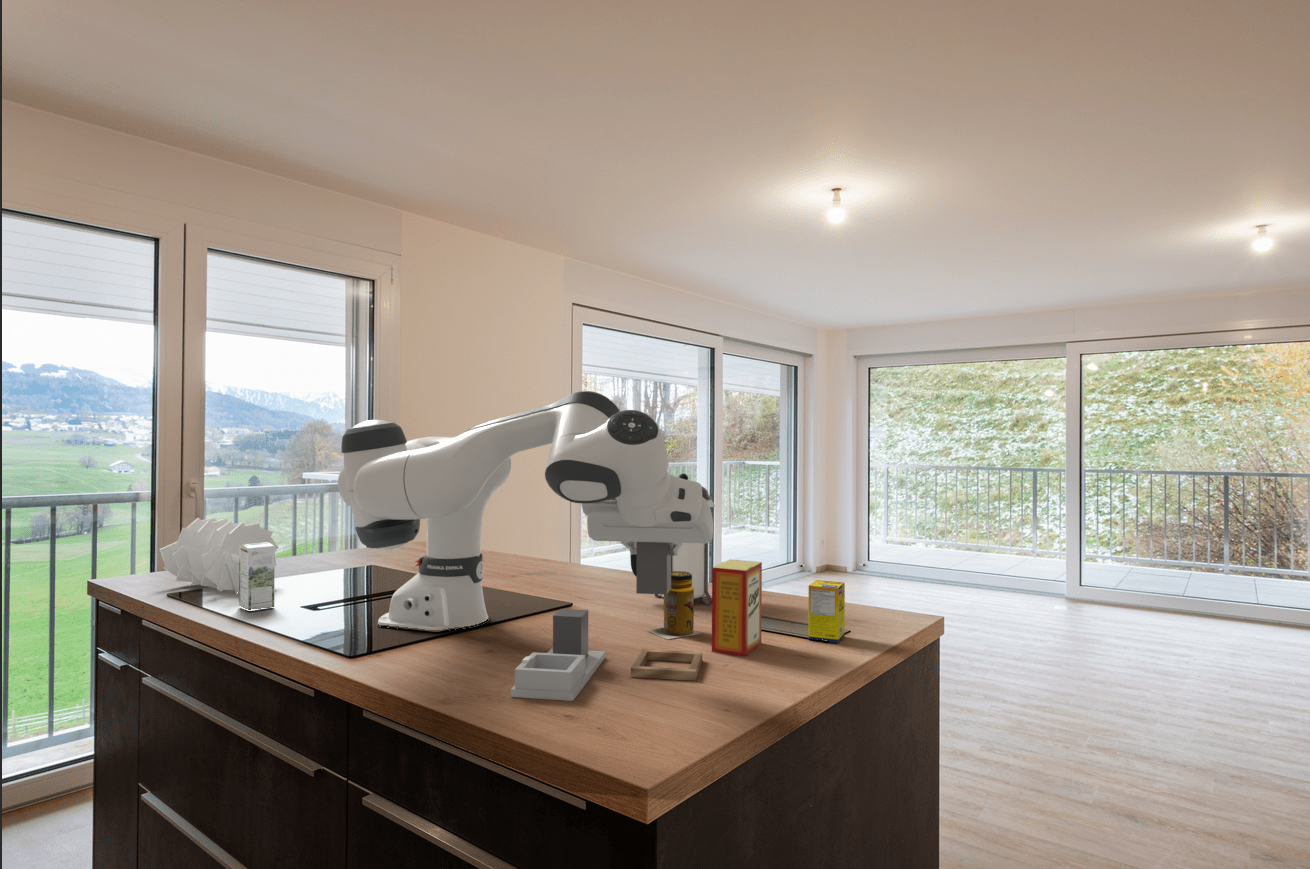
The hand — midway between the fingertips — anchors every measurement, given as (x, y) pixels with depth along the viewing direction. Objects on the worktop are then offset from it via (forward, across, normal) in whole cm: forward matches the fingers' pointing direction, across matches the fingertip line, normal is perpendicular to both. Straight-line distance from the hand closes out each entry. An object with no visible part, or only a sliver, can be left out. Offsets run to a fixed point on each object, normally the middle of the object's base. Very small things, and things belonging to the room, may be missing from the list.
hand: (654, 551), depth 134 cm
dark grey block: (+4, 0, -5) cm, 6 cm away
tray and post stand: (+14, -16, -16) cm, 26 cm away
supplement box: (+35, +30, +6) cm, 47 cm away
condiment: (+35, 0, +5) cm, 35 cm away
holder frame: (+19, +2, -11) cm, 22 cm away
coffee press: (+53, -3, +25) cm, 59 cm away
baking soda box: (+29, +13, 0) cm, 32 cm away
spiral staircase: (+49, -117, +21) cm, 129 cm away
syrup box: (+37, -95, +8) cm, 103 cm away
